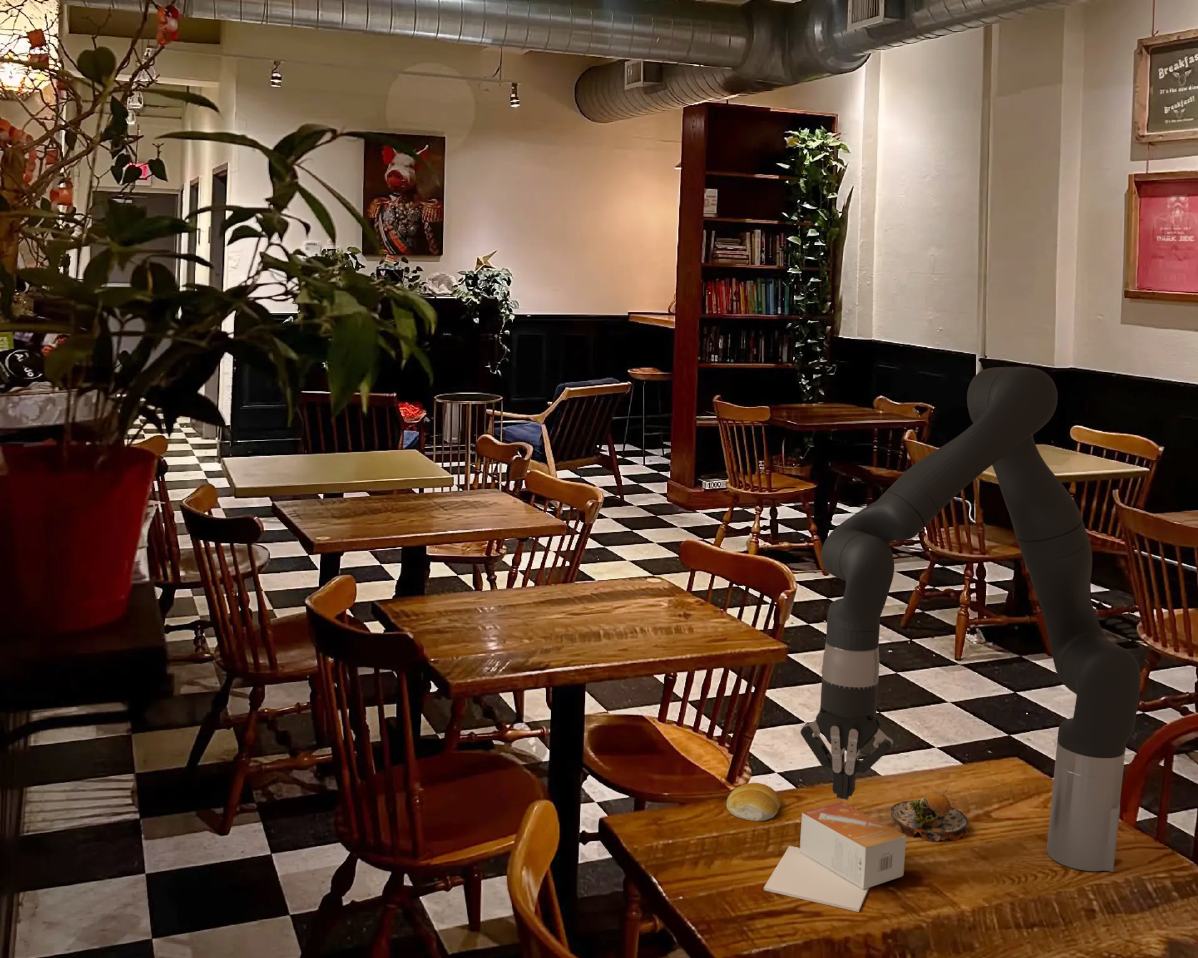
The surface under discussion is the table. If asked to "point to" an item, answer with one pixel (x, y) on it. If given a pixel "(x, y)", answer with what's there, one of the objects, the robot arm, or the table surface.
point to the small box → (852, 844)
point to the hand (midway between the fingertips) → (843, 796)
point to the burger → (930, 818)
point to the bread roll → (753, 802)
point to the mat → (813, 882)
